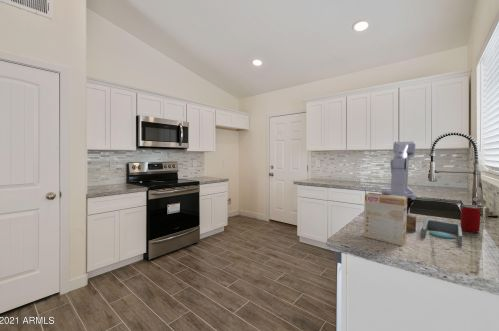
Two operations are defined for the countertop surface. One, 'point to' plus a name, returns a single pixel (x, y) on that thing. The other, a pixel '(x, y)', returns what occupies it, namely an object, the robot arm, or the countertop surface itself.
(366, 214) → the coffeecake box
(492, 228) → the countertop surface
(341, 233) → the countertop surface
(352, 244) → the countertop surface
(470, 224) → the beverage can
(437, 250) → the countertop surface
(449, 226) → the grey angular frame piece
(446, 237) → the pad
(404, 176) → the robot arm
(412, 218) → the walnut cylinder
